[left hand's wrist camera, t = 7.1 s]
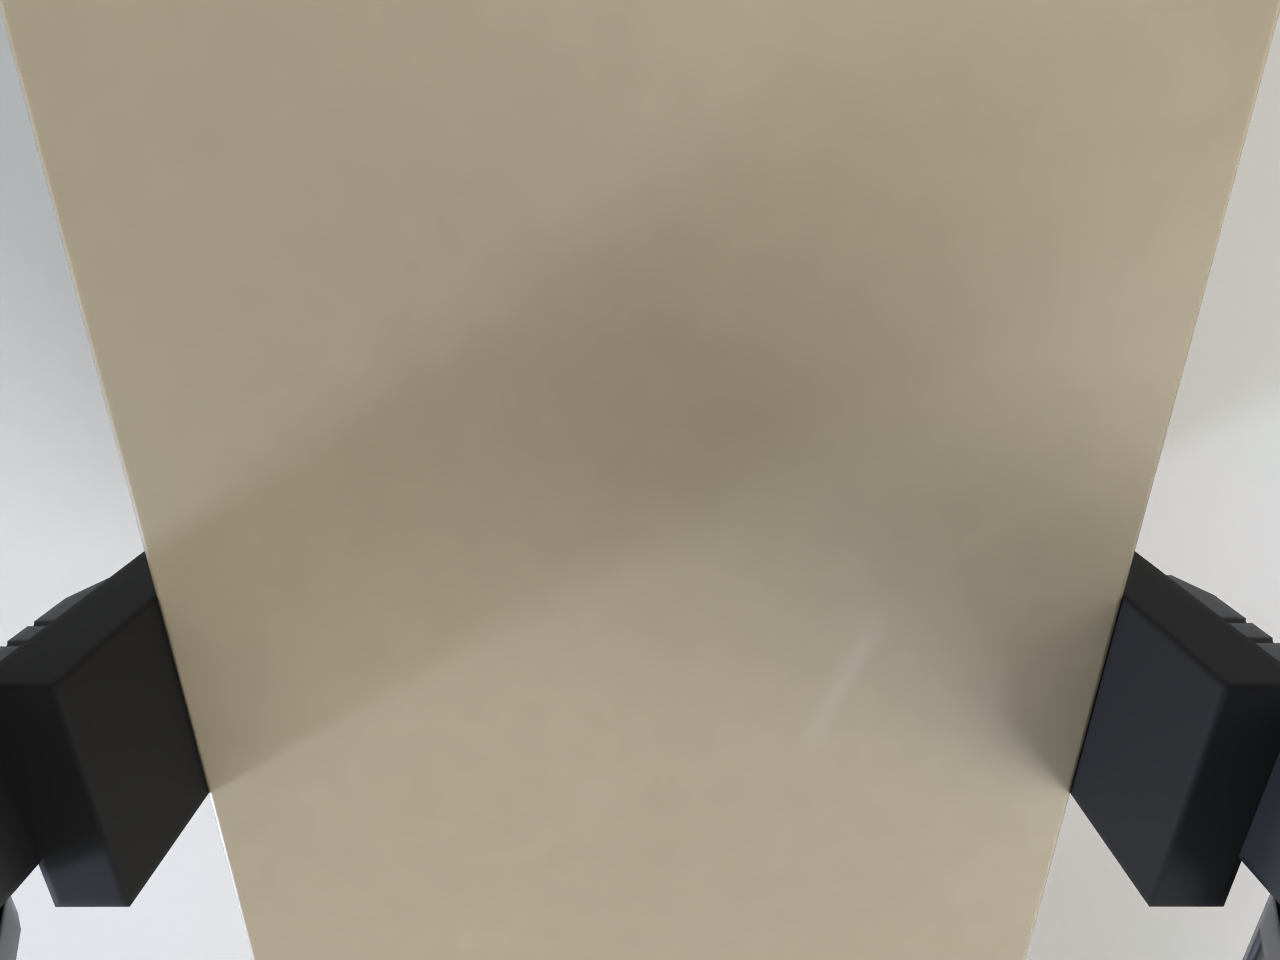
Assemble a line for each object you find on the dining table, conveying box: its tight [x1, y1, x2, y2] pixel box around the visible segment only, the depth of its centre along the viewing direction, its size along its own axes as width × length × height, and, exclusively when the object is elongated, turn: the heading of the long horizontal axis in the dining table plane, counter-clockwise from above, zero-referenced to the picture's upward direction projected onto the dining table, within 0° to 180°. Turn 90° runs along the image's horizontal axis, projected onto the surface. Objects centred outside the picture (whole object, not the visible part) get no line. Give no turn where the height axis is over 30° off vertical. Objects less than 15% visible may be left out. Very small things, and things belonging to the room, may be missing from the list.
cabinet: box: [0, 0, 1280, 960], centre depth 11 cm, size 18×10×9 cm, turn 0°
